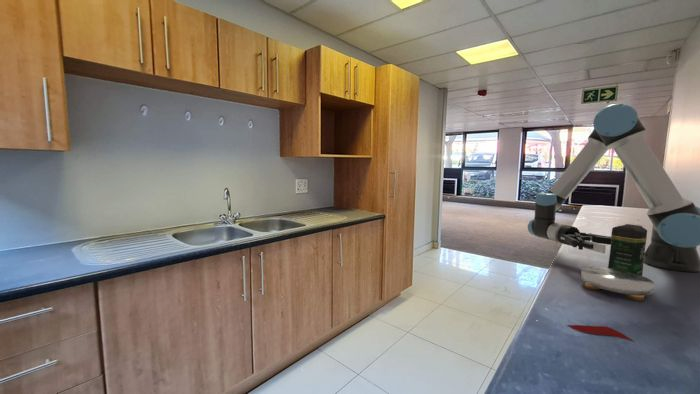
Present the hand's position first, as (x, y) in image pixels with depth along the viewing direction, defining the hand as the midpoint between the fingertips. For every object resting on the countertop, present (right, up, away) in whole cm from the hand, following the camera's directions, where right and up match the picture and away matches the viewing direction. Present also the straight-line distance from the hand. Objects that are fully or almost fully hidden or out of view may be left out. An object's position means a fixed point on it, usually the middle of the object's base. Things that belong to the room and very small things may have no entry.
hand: (621, 248), depth 96 cm
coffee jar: (+1, -11, 0) cm, 11 cm away
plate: (-10, -11, -8) cm, 17 cm away
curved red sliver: (-34, -14, -31) cm, 48 cm away
